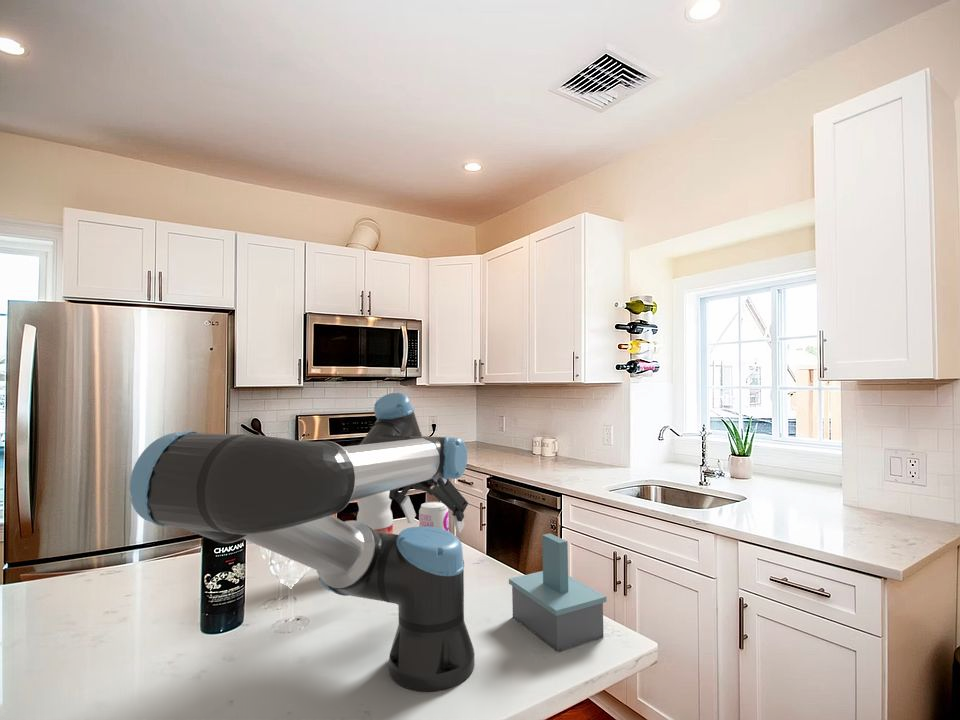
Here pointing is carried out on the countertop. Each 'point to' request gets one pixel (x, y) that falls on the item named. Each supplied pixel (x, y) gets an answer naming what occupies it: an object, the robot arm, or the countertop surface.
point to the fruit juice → (376, 512)
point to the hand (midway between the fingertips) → (436, 523)
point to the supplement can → (434, 515)
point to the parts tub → (558, 622)
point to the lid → (556, 581)
